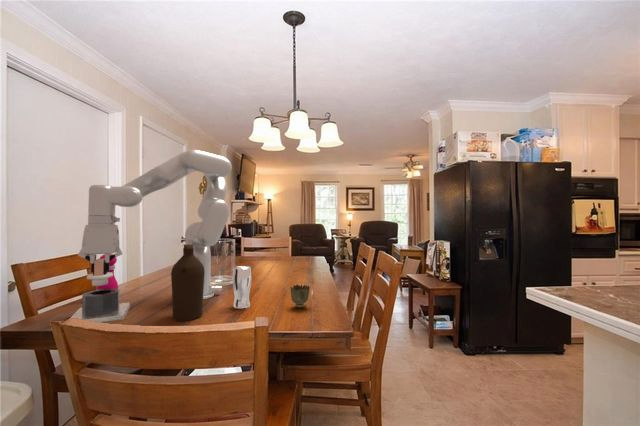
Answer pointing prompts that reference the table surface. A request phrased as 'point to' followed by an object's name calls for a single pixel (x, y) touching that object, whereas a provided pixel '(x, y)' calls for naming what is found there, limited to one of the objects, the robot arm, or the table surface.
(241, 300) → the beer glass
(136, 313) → the table surface
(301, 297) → the cup
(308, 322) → the table surface
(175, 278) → the olive oil
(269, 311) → the table surface
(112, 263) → the pepper mill
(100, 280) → the beige blocky piece
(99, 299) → the grey tub on base
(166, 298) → the table surface
